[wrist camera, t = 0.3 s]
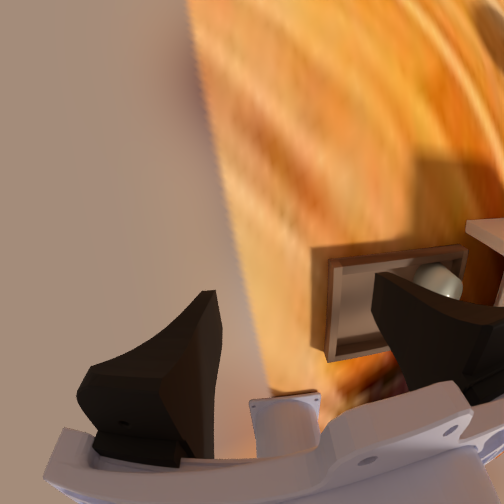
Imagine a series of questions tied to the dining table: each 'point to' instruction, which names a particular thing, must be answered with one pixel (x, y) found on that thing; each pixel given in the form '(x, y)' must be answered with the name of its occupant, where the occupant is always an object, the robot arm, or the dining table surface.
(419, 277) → the grey rounded lump
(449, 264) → the tray
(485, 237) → the grey rectangular block
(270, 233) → the dining table surface
